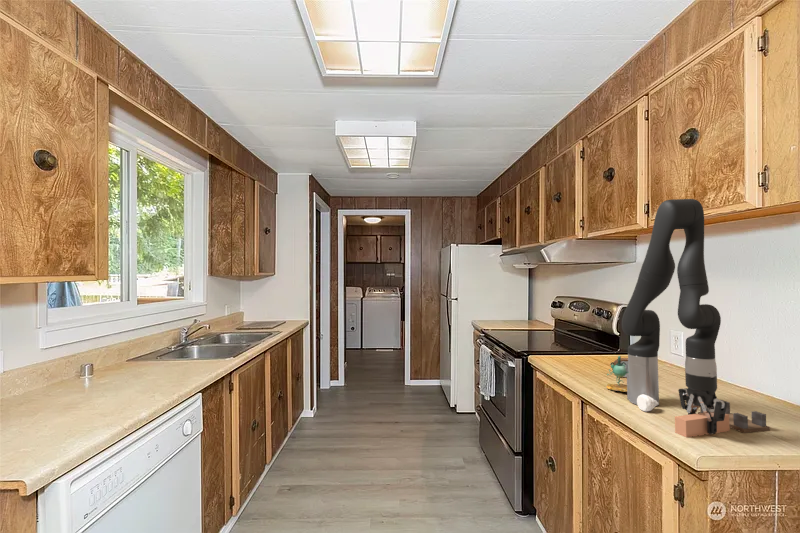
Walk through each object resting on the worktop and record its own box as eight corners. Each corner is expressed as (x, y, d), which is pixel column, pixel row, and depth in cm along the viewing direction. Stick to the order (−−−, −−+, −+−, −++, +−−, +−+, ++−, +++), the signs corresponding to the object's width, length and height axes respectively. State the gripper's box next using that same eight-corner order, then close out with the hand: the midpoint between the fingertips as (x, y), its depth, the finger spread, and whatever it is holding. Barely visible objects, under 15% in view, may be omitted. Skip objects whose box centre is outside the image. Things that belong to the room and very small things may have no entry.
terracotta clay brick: (675, 433, 120) (674, 416, 120) (717, 427, 123) (717, 410, 123) (686, 438, 116) (685, 420, 116) (729, 431, 120) (729, 414, 120)
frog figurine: (619, 398, 152) (615, 358, 154) (599, 389, 170) (596, 353, 171) (645, 398, 151) (641, 357, 153) (623, 389, 169) (620, 353, 171)
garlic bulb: (663, 412, 136) (663, 396, 136) (648, 413, 135) (647, 397, 135) (650, 406, 142) (650, 391, 142) (635, 408, 140) (635, 392, 140)
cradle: (697, 415, 133) (697, 401, 133) (721, 412, 135) (720, 399, 135) (744, 433, 118) (743, 417, 118) (769, 430, 120) (769, 414, 120)
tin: (648, 376, 179) (648, 357, 179) (651, 378, 176) (651, 359, 176) (612, 376, 182) (611, 357, 182) (614, 378, 179) (614, 359, 179)
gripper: (669, 367, 126) (671, 421, 126) (712, 379, 112) (714, 440, 112) (690, 365, 128) (691, 419, 128) (735, 377, 114) (737, 438, 113)
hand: (702, 429), depth 120 cm, fingers open, 5 cm apart
